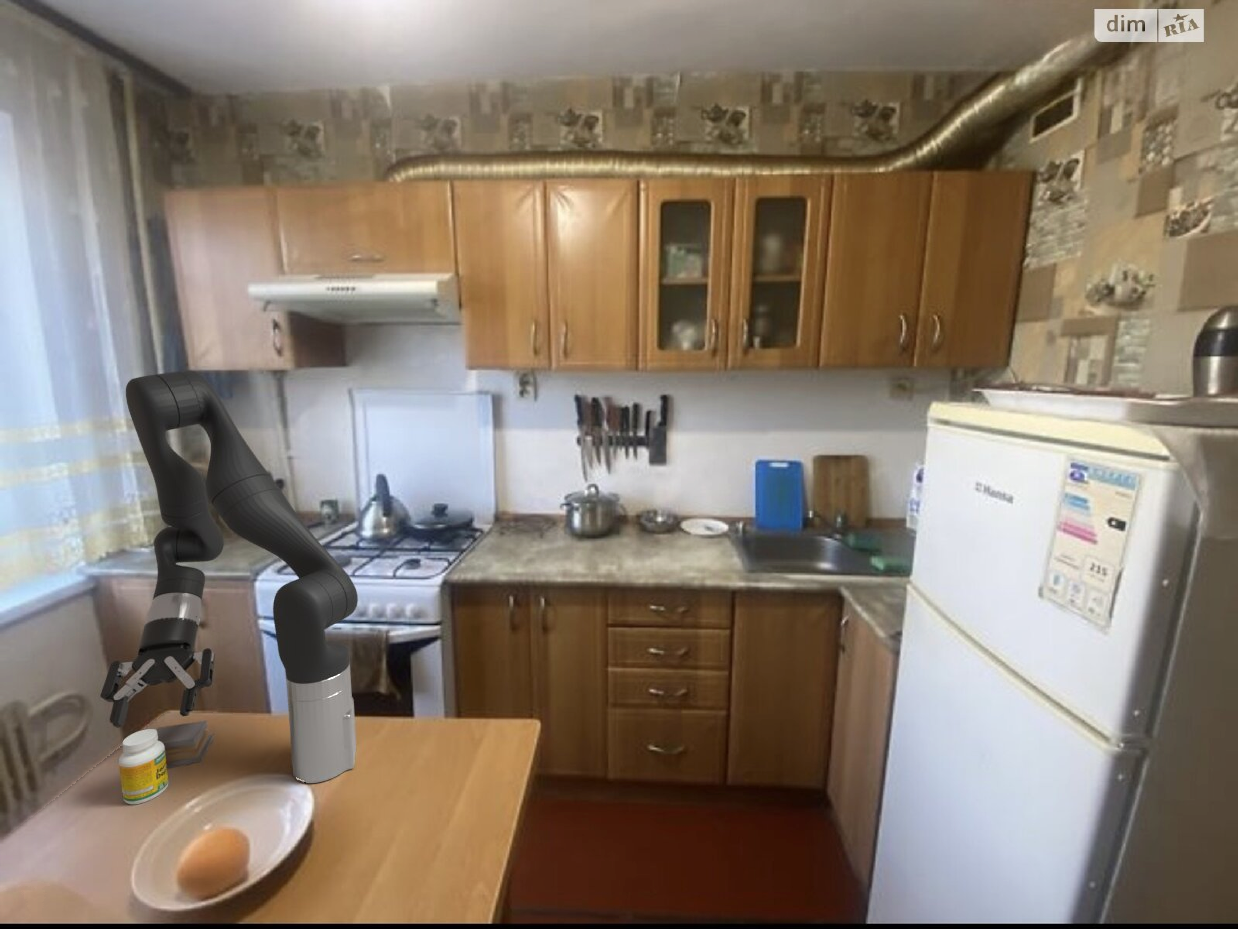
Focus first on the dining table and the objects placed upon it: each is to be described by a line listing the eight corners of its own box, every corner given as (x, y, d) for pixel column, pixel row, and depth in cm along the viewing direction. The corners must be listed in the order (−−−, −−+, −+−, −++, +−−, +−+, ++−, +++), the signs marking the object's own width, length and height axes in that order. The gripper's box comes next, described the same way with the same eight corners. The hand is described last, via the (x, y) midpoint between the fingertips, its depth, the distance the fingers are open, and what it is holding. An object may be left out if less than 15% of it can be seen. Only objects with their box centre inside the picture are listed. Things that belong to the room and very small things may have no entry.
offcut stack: (214, 737, 97) (211, 715, 96) (201, 761, 91) (198, 738, 90) (151, 749, 94) (149, 727, 93) (134, 775, 87) (131, 751, 87)
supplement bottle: (129, 787, 85) (122, 732, 83) (172, 776, 87) (166, 722, 86) (118, 811, 80) (111, 752, 79) (164, 798, 82) (158, 741, 81)
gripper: (112, 622, 90) (83, 724, 81) (214, 610, 95) (198, 705, 86) (130, 638, 95) (105, 736, 86) (225, 626, 101) (211, 717, 92)
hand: (151, 720), depth 86 cm, fingers open, 8 cm apart
